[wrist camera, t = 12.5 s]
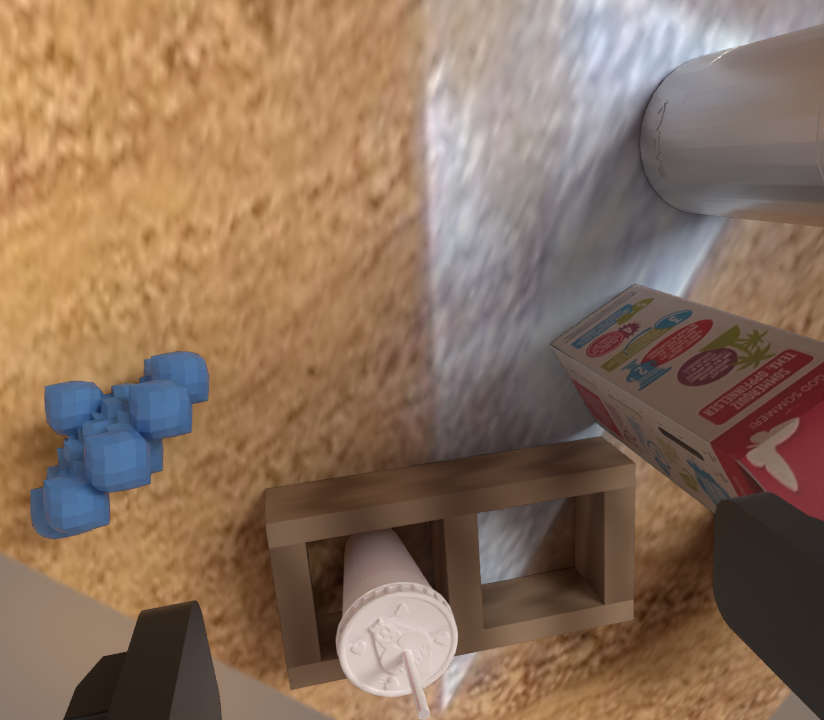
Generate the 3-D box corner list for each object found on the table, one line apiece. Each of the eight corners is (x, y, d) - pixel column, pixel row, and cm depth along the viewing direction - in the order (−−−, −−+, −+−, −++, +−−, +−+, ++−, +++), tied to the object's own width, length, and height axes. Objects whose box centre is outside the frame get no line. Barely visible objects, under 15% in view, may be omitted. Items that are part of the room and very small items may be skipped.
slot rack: (601, 436, 46) (635, 463, 42) (602, 580, 49) (633, 619, 45) (265, 488, 42) (265, 524, 38) (288, 641, 46) (290, 689, 41)
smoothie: (369, 610, 46) (409, 788, 33) (301, 552, 44) (316, 716, 31) (440, 546, 46) (510, 699, 33) (376, 485, 44) (423, 621, 31)
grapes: (148, 276, 38) (97, 320, 27) (245, 355, 40) (235, 427, 29) (10, 430, 39) (-99, 537, 27) (112, 499, 41) (51, 626, 29)
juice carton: (679, 365, 46) (1019, 526, 25) (596, 423, 46) (869, 633, 25) (635, 283, 44) (967, 385, 23) (548, 344, 44) (803, 501, 23)
